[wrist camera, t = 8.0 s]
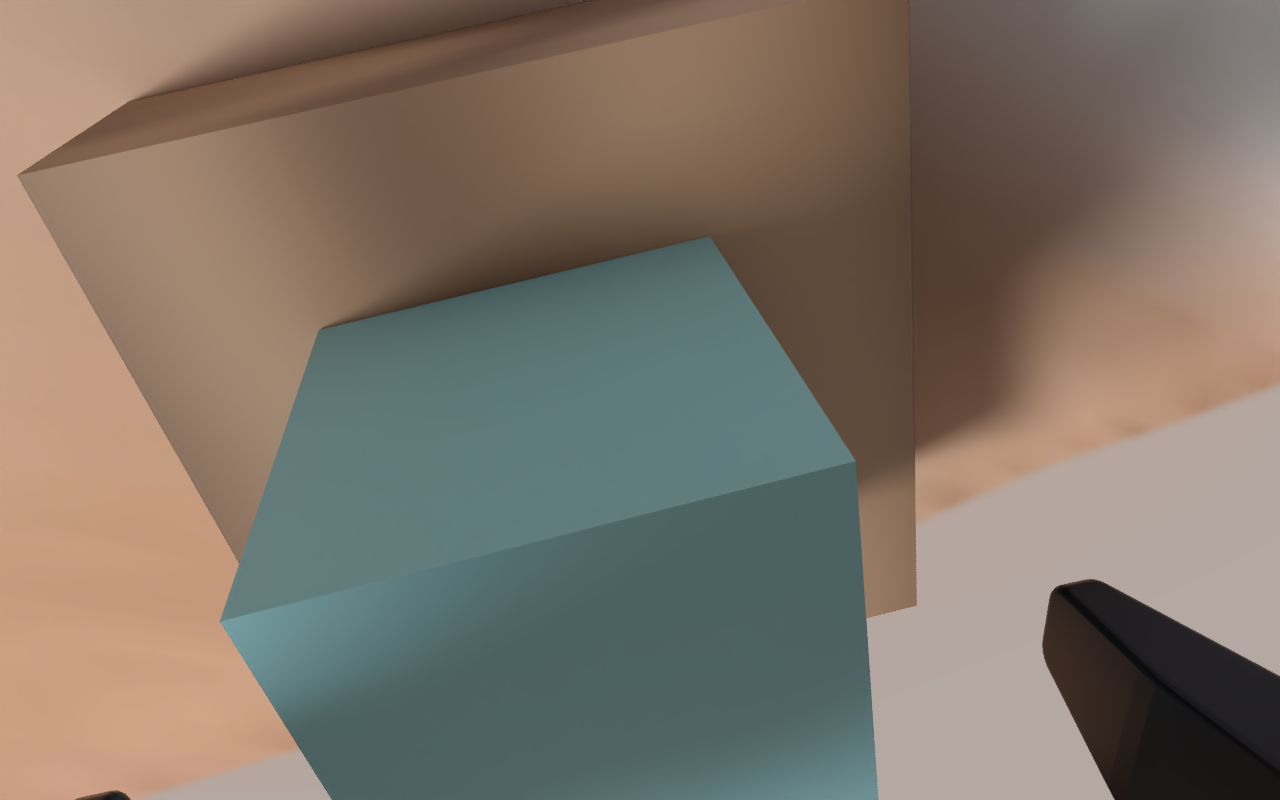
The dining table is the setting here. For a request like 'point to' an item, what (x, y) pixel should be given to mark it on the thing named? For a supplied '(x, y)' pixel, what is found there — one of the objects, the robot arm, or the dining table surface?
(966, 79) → the dining table surface
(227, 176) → the walnut block
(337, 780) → the teal cube
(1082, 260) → the dining table surface
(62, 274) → the dining table surface
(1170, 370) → the dining table surface
